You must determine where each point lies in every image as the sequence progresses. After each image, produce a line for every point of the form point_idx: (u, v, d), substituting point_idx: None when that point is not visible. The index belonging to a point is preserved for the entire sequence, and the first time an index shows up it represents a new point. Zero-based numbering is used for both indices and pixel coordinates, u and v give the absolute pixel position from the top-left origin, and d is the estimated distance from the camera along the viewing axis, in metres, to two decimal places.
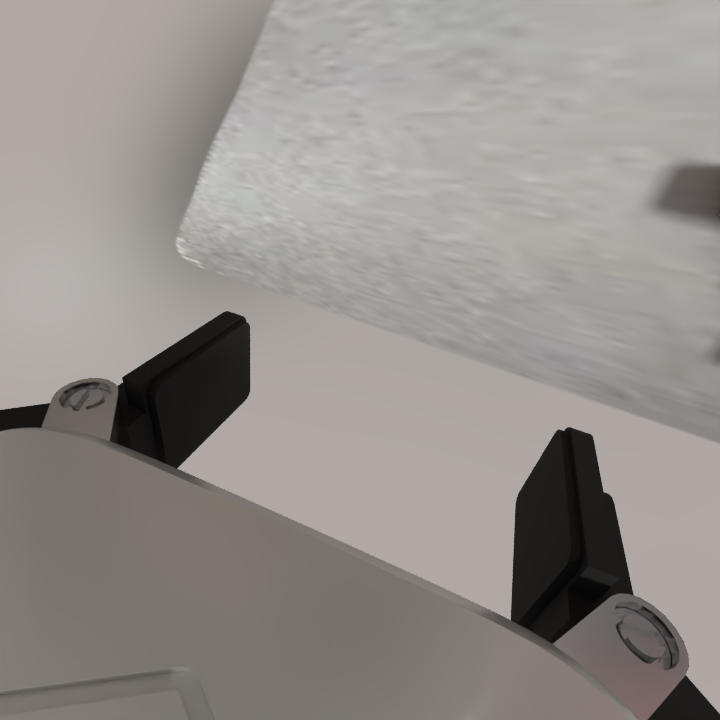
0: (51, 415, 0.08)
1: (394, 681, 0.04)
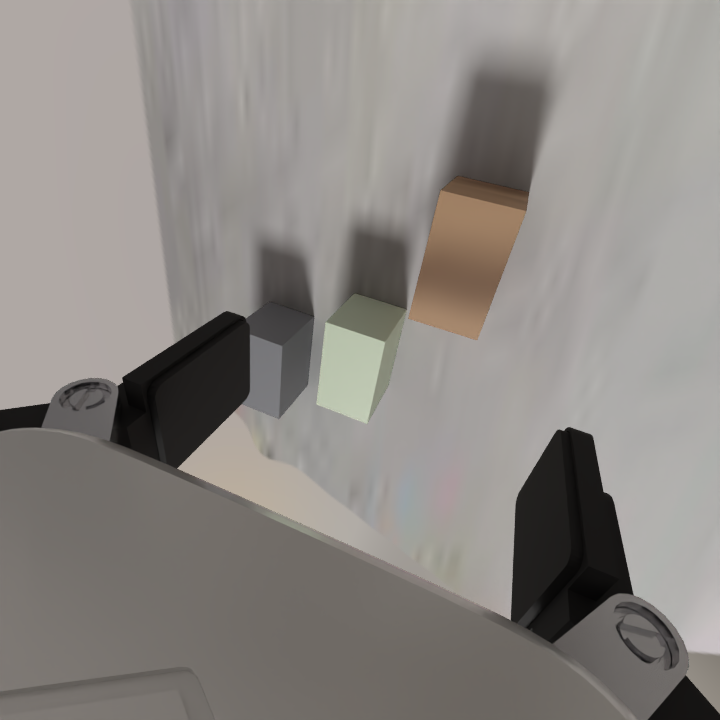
0: (51, 415, 0.08)
1: (394, 682, 0.04)
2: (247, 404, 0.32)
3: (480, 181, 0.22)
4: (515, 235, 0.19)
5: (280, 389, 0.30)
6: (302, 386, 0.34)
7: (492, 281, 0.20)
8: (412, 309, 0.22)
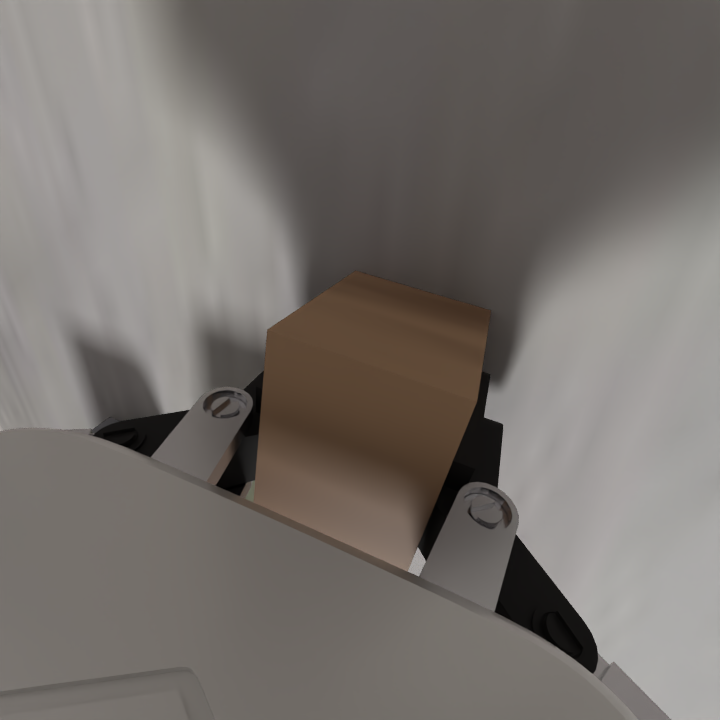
0: (191, 414, 0.09)
1: (394, 682, 0.04)
2: None
3: (396, 284, 0.11)
4: (452, 450, 0.07)
5: None
6: None
7: (407, 531, 0.09)
8: None
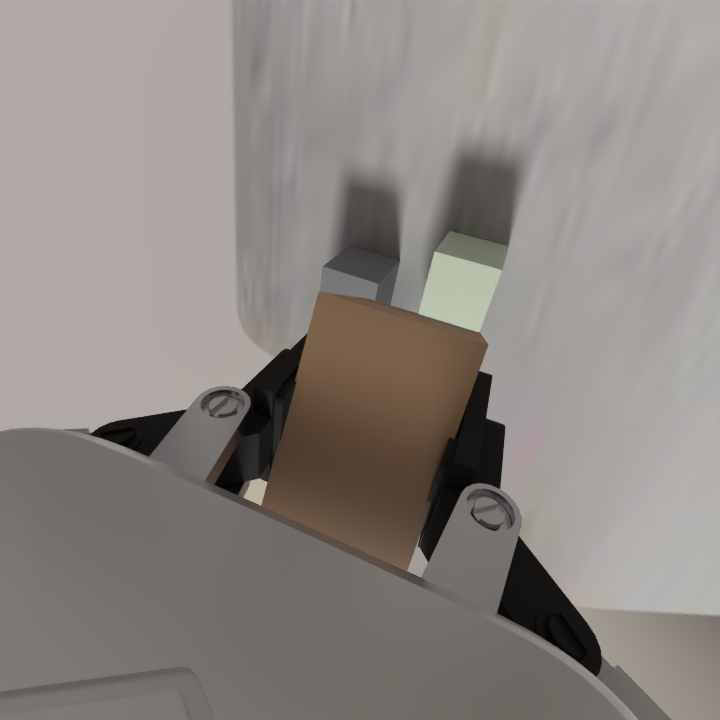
0: (189, 413, 0.09)
1: (395, 682, 0.04)
2: None
3: (402, 309, 0.14)
4: (467, 392, 0.09)
5: None
6: None
7: (422, 486, 0.09)
8: None
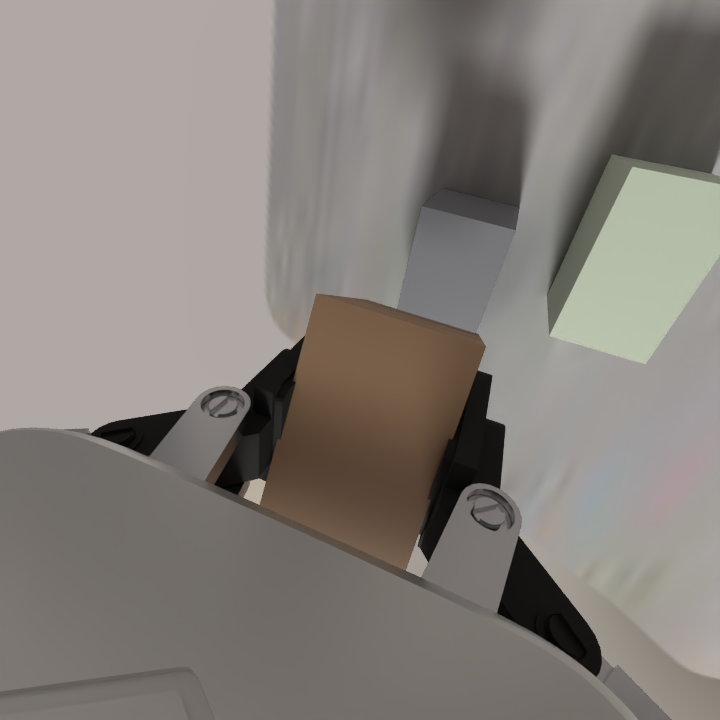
0: (189, 413, 0.09)
1: (394, 682, 0.04)
2: None
3: None
4: (465, 394, 0.09)
5: (482, 315, 0.19)
6: None
7: (419, 488, 0.09)
8: None
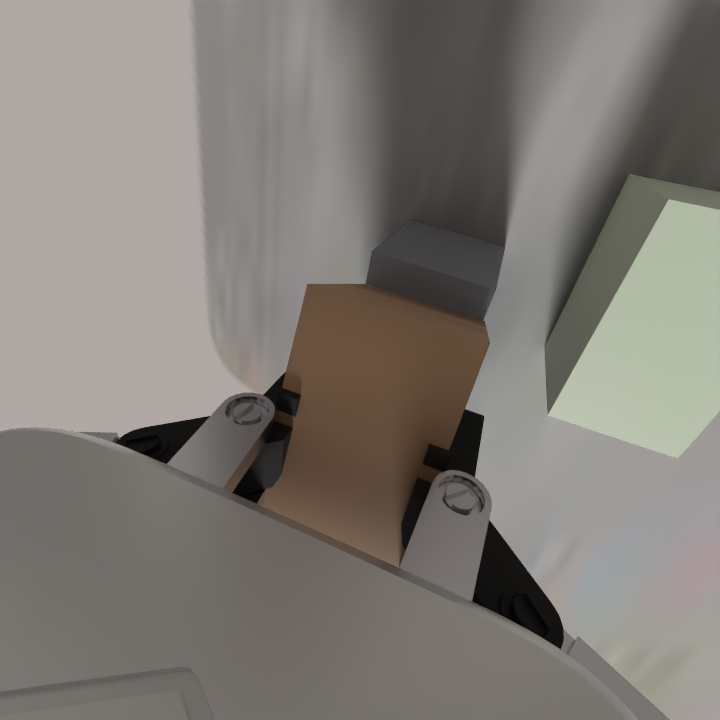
0: (213, 418, 0.09)
1: (394, 683, 0.04)
2: None
3: (403, 296, 0.13)
4: (466, 394, 0.08)
5: None
6: None
7: None
8: None
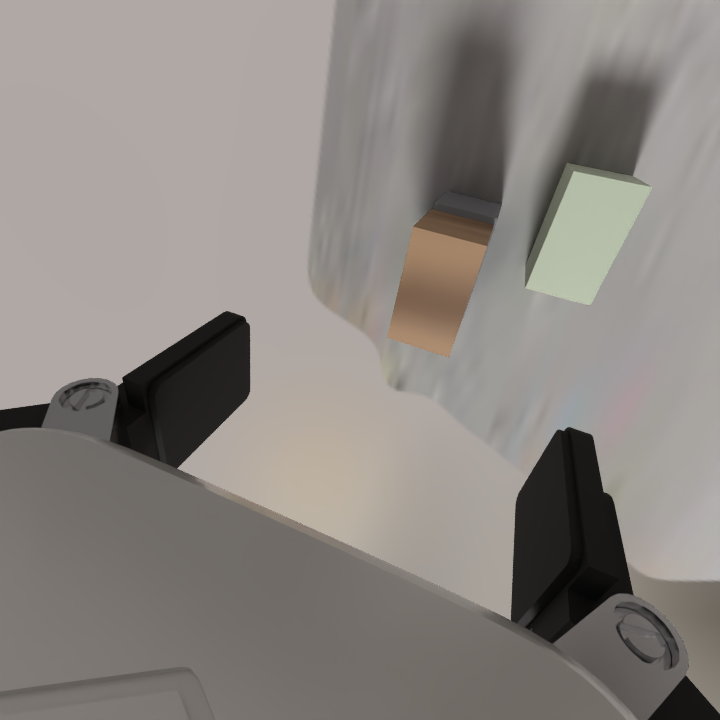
0: (51, 415, 0.08)
1: (394, 682, 0.04)
2: None
3: (451, 215, 0.25)
4: (478, 266, 0.21)
5: (476, 279, 0.27)
6: None
7: (460, 306, 0.23)
8: (390, 329, 0.25)
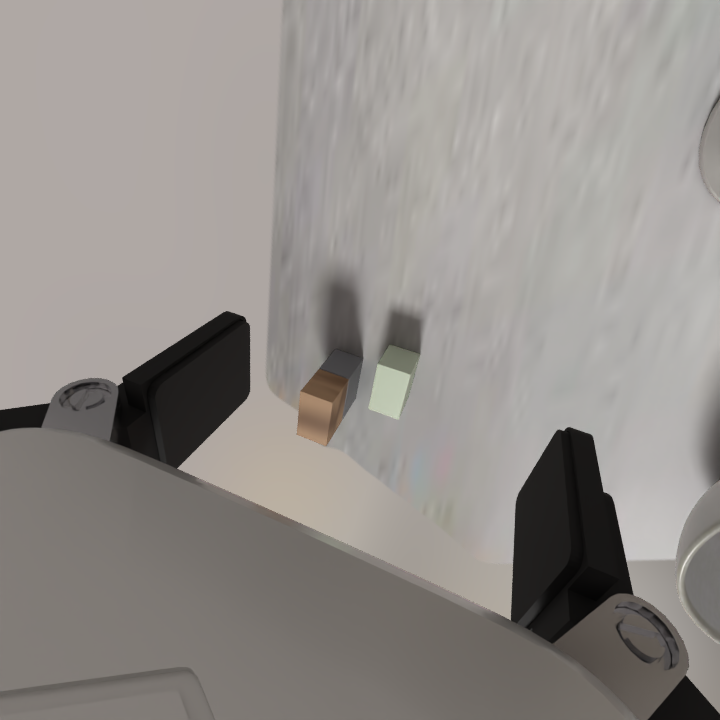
0: (51, 415, 0.08)
1: (395, 683, 0.04)
2: None
3: (328, 373, 0.49)
4: (330, 410, 0.45)
5: (345, 402, 0.51)
6: (353, 399, 0.55)
7: (326, 425, 0.47)
8: (297, 431, 0.49)
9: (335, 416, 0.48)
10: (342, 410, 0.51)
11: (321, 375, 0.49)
